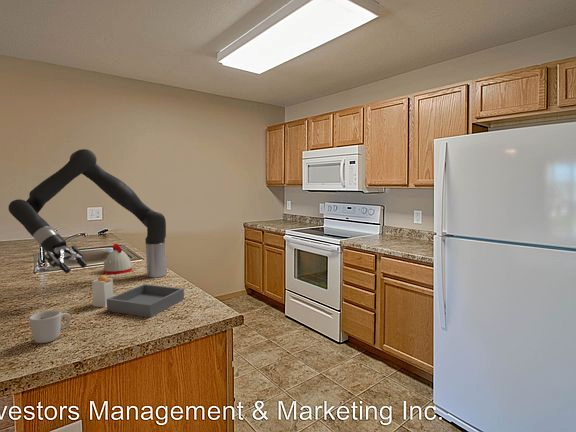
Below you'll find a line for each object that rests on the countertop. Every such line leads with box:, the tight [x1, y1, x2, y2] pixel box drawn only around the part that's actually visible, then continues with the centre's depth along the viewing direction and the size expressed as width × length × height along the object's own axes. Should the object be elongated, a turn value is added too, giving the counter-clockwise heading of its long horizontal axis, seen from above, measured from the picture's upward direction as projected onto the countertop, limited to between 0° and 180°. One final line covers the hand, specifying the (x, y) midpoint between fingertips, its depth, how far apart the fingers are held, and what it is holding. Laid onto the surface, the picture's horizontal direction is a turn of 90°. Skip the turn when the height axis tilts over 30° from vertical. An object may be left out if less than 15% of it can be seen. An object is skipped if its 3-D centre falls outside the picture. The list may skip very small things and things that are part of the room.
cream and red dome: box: [103, 243, 133, 275], centre depth 185 cm, size 14×14×15 cm
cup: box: [28, 309, 72, 344], centre depth 106 cm, size 11×8×8 cm
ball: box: [97, 274, 109, 283], centre depth 134 cm, size 3×3×3 cm
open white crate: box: [91, 277, 115, 308], centre depth 135 cm, size 5×5×10 cm
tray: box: [106, 283, 185, 318], centre depth 134 cm, size 20×20×4 cm
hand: (77, 269), depth 135 cm, fingers open, 8 cm apart
